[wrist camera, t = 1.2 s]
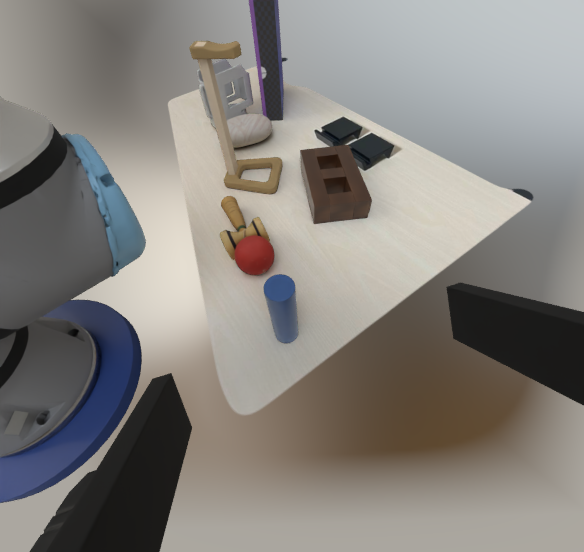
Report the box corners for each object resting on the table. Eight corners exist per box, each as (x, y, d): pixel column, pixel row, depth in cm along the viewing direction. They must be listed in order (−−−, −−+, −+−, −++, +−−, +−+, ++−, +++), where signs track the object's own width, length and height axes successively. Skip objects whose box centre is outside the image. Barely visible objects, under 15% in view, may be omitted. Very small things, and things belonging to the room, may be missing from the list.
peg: (276, 344, 36) (264, 303, 26) (274, 323, 38) (262, 276, 28) (299, 341, 36) (297, 299, 26) (296, 320, 38) (293, 272, 28)
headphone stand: (276, 194, 53) (259, 57, 34) (222, 192, 54) (178, 58, 36) (283, 162, 59) (272, 30, 40) (234, 161, 60) (202, 31, 41)
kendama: (209, 223, 51) (235, 288, 40) (204, 192, 47) (231, 256, 35) (248, 216, 54) (283, 275, 42) (247, 186, 49) (285, 244, 38)
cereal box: (267, 90, 78) (253, -34, 58) (283, 89, 78) (275, -36, 58) (264, 120, 69) (246, -16, 49) (282, 119, 69) (272, -17, 49)
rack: (313, 224, 48) (314, 206, 45) (300, 167, 57) (300, 150, 54) (367, 217, 48) (372, 200, 45) (345, 162, 58) (348, 144, 54)
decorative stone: (267, 126, 67) (264, 104, 63) (278, 144, 63) (276, 122, 58) (217, 138, 65) (210, 116, 61) (225, 157, 61) (219, 136, 56)
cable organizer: (257, 116, 70) (249, 60, 60) (219, 136, 65) (204, 79, 56) (240, 109, 73) (230, 54, 63) (203, 127, 68) (186, 71, 58)
